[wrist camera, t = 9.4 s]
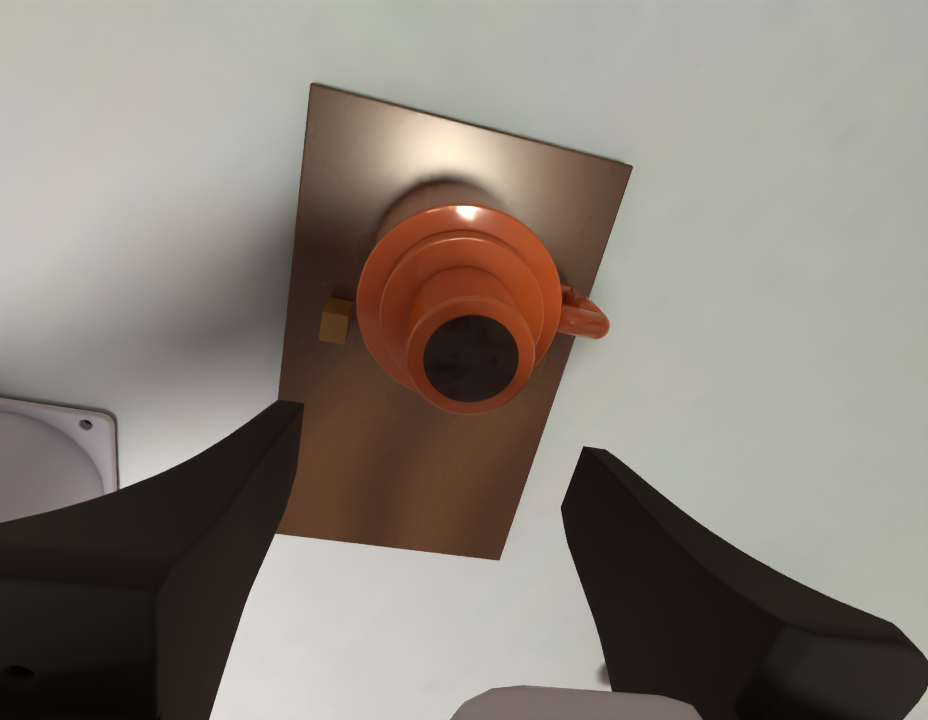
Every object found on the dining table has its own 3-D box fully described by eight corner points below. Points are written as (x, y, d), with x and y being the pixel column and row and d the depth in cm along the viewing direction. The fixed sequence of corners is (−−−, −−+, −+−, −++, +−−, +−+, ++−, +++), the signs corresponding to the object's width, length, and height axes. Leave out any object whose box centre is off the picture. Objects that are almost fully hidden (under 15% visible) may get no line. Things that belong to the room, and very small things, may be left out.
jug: (548, 352, 23) (628, 494, 14) (362, 316, 21) (322, 449, 13) (593, 213, 20) (723, 279, 12) (387, 164, 19) (358, 197, 10)
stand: (269, 518, 26) (253, 560, 24) (315, 84, 19) (298, 78, 16) (497, 547, 28) (504, 589, 26) (624, 164, 20) (653, 169, 18)
